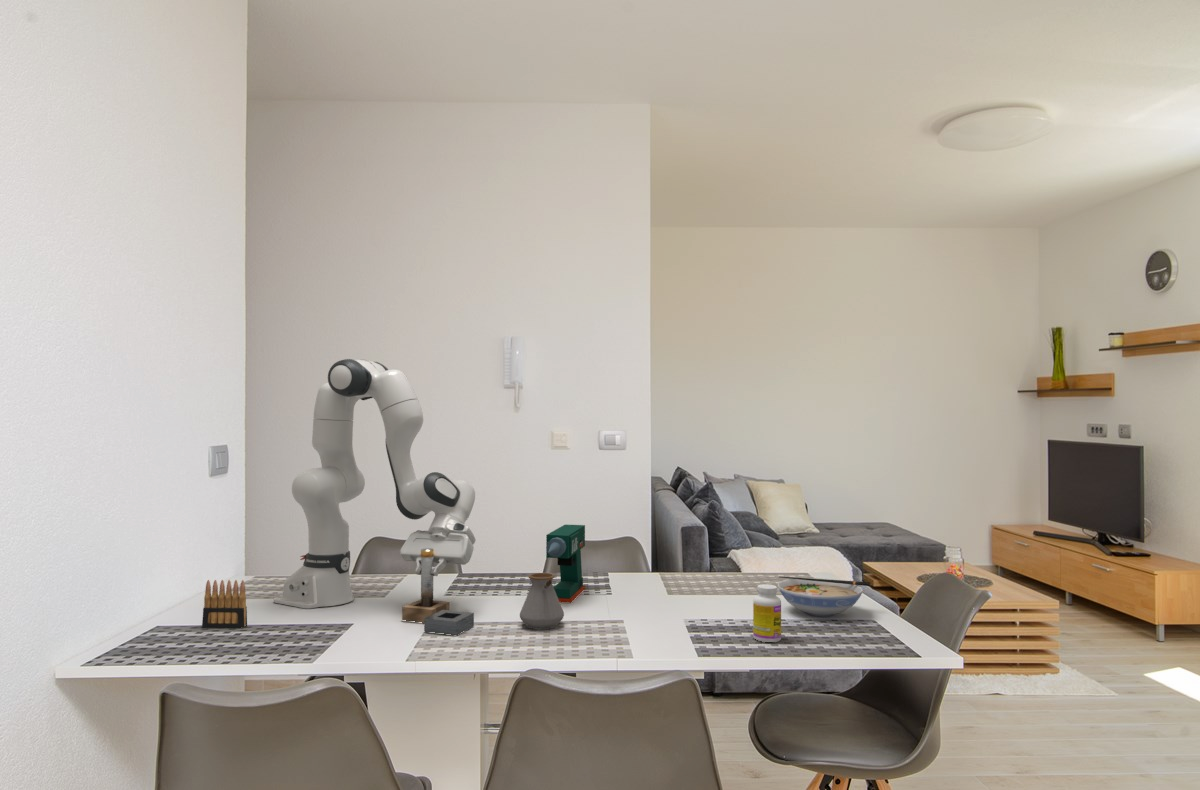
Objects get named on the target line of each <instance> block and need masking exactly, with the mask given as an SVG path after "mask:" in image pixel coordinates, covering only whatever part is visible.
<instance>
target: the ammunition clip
mask: <svg viewBox="0 0 1200 790" xmlns="http://www.w3.org/2000/svg"><path fill="white" fill-rule="evenodd" d="M220 581H221V582H220V583H219V588H218V582H217V580H216V579H214V581H213V584H212V589H211V581H210V579H208V580H207V581H206V583H205V591H204V592H205V593H204V600H203V602H204V603H203V604H204V605H203V609H202V622H201V629H242V628H241V627H245V626H246V627H248V609H247V608H248V607H247V596H246V583H245V580H243V579H242V580H241V581H240V587H239V583H238V580H237V579H235V580H234V583H233V587H232V582H231V580H230V579H228V581H227V584H226V587H225V581H224V580H223V579H221V580H220ZM218 589H219V590H218ZM232 589H233V591H232ZM225 590H226V591H225ZM246 627H245V628H246Z"/></svg>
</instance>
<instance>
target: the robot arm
mask: <svg viewBox="0 0 1200 790" xmlns="http://www.w3.org/2000/svg"><path fill="white" fill-rule="evenodd" d="M370 399H374V401H375V402H376V404H377V408H378V409H379V412H380V415H381V417H382V421H383V426H384V431H385V449H386V453H387V459H388V462H389V466H390V470H391V474H392V478H393V482H394V487H395V503H396V506H397V508H398V510H399V512H400V514H402V515H403V516H404V517H405V518H407V519H409V520H415V521H416V520H420V519H422V518H424V517H425V516H426V515H427V514H429V513H430V512H433V513H434V514H435V515H434V517H433V519H432V522H431V524H430V526H429V528H428V530H420V529H418V530H415V531H413V532H411V533H410V534H409V535H408V537H407V539H406V540H405V542H404V543H403V545H402V546H401V548H400V550H399V554H400V556H401V557H402V559H403V560H404V561H405V562H416V568H415V572H414V573H415V574H416V575H418V576H421V549H424V548H432V549H434V556H433V564H437V565H435V566H433V567H432V570H431V571H430V574H431V575H432V576H433V577H438V575H439V573H440V572H441V571H442V570H443V569H445V568H446V567H447V565H448V564H449V565H462V566H465V565H466V564H468V563H469V562H470V561H471V558H472V557H473V556H472V555H473V552H474V550H475V549H474V544H476V537H475V535H474V532H473V531H472V529H470V527H469V526H468V525H467V524H466V523H465V522H466V521H467V520H468V519H469V517H470V516H471V512H472V510H473V508H474V504H475V499H476V491H475V488H474V487H473V486H472V484H470V483H469V482H468V481H466V480H462V479H453V478H452V479H451V478H449V477H447V476H446V475H445V474H443V473H441V472H436V471H435V472H429V473H428V474H426V475H424V476H423V477H420V478H419V479H418V480H417V478H416V474H415V469H414V465H413V463H412V459H411V450H412V449H411V448H412V446H413V442H414V441H415V438H416V437H417V436H418V434H419V432H420V431H421V429H422V426H423V424H424V412H423V410H422V405H421V403H420V401H419V400H418V396H417V394H416V392H415V390H414V388H413V385H412V384H411V382H410V381H409V379H408V378H407V376H406V375H405V373H404V371H403V372H402V371H401V370H399V369H389V368H387V366H385V365H384V364H382V363H380V362H378V361H372V360H369V359H368V360H367V359H351V358H345V359H342V360H341V359H340V360H338V361H336V362H334V363H333V364H332V365H331V366H330V368H329V370H328V373H327V382H325V383H323V384H322V385H320V387H319V388H318V391H317V394H316V399H315V404H314V408H313V409H314V410H313V419H312V421H313V423H312V440H311V443H312V444H311V445H312V447H313V449H314V450H315V451H316V453H318V456H319V458H320V463H321V467H314V468H311V469H308V470H305V471H303V472H301V473H299V474H297V476H295V478H294V479H293V481H292V485H291V493H292V497H293V498H294V500H295V502H296V503H298V504H299V505H300V506H301V508H302V510H303V512H304V515H305V519H306V522H307V528H308V552H307V553H306V554H304V555H301V556H300V561H303V560H304V561H303V562H302V563H303V564H302V566H301V567H299V569H297V570H296V571H295V572H293V573H292V574H291V575H290V576H289V577H287V578H286V579H285V581H284V584H283V587H282V594H280V595H278V596H276V597H274V599H273V603H275V604H280V605H287V606H290V607H291V606H292V607H296V608H301V609H313V608H315V609H316V608H319V607H321V608H322V607H323V608H324V607H334V606H340V605H344V604H347V603H350V602H352V601H354V600H355V597H354V593H353V591H352V586H351V578H350V566H351V550H350V548H349V547H350V540H349V539H350V526H349V523H348V522H347V520H345V519H344V518H343V515H342V513H341V510H340V503H341V504H343V503H346V502H349V501H352V500H354V499H355V498H357V497H358V496H360V495H361V494H363V491H364V489H365V485H366V482H365V476H364V474H363V473H362V471H361V470H360V469H359V467H358V466H357V463H356V460H355V454H354V448H353V437H354V436H353V435H354V433H353V431H354V430H353V428H354V412H355V410H354V409H355V406H356V404H357V402H358V401H359V400H361V401H367V400H370Z"/></svg>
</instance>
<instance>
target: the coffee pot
mask: <svg viewBox="0 0 1200 790" xmlns="http://www.w3.org/2000/svg"><path fill="white" fill-rule="evenodd" d="M554 578H555V574H552V573H549V572H548V573H546V572H537V573H531V574H530V575H528V579H529V580H530V582H531V585H530V588H529V591H528V593H527V595H526V598H525V600H524V603H523V605H522V606H521V610H520V613H519V619H520V620H521V621H522V623H524V625H526V627H527V626H528V627H527V628H529V627H530V628H529V629H532V628H534V629H533V630H549V628H551V629H554V628H556V627H557V625H558V624H560V623H561V622H562V621H563V619H564V616H565V611H564V610H563V606H562V605H561V602H559V600H558V597H557V595H556V592H555V590H554V585H556V584H555V583H556V582H553V580H554Z"/></svg>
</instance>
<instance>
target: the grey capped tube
mask: <svg viewBox="0 0 1200 790" xmlns="http://www.w3.org/2000/svg"><path fill="white" fill-rule="evenodd" d="M433 556H434V549H432V548H424V549H421V575H420V599H421V607H432V606H433V600H434V576H432V575H431V574H430V571H431V570H432V567H434V563H433Z"/></svg>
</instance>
